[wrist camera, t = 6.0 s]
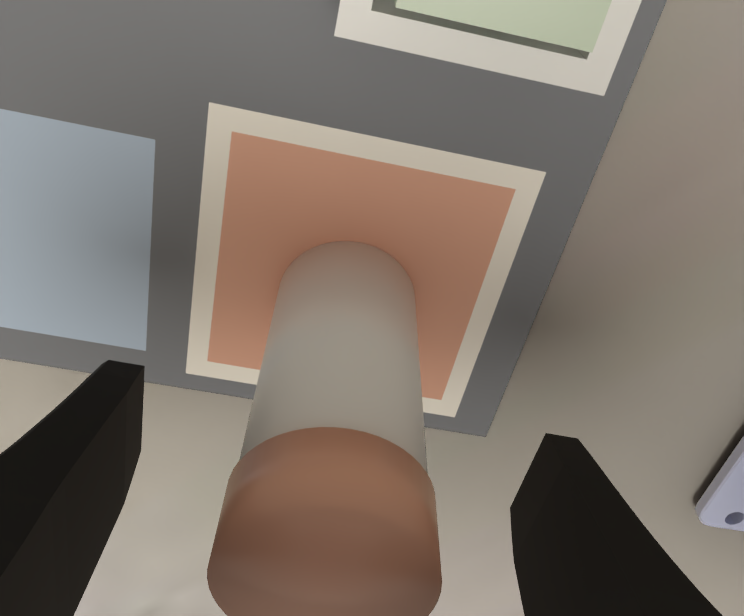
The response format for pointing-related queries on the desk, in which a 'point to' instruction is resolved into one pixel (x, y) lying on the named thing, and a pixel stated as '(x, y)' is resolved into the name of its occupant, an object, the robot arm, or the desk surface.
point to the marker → (333, 453)
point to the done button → (524, 17)
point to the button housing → (491, 43)
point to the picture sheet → (275, 187)
